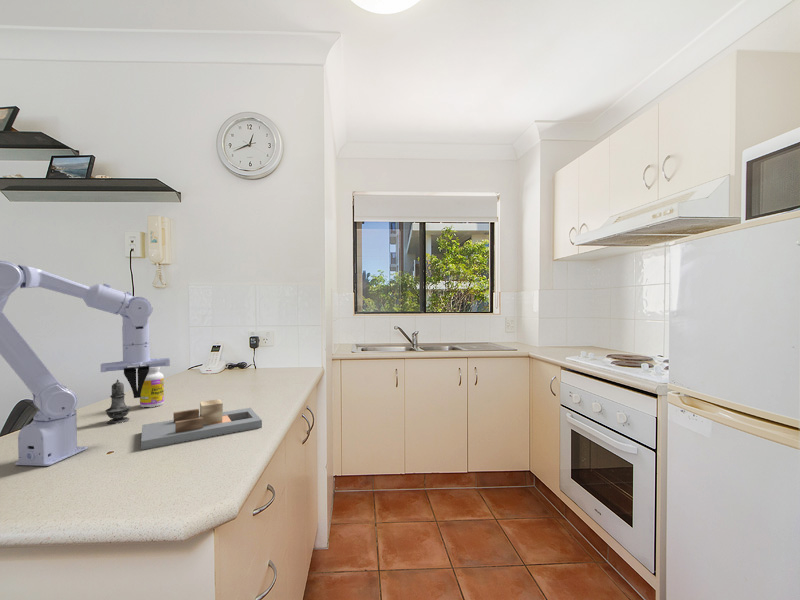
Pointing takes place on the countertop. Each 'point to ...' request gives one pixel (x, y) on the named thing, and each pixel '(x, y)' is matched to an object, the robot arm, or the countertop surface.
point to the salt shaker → (117, 405)
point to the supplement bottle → (152, 389)
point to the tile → (223, 420)
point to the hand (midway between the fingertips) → (137, 397)
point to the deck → (167, 435)
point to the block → (211, 411)
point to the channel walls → (187, 420)
